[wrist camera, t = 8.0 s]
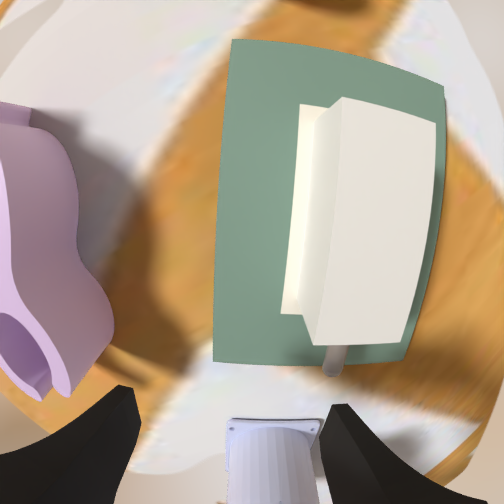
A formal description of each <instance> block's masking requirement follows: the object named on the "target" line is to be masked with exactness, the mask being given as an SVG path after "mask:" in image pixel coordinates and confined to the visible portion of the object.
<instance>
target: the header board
mask: <svg viewBox="0 0 504 504" xmlns="http://www.w3.org/2000/svg"><path fill="white" fill-rule="evenodd" d="M341 97H346V98H351V99H355V100H360V101H364V102H368V103H372V104H376V105H380V106H383V107H387V108H391V109H394V110H398V111H401V112H404V113H407V114H410V115H414V116H417V117H420V118H422V119H425V120H428V121H431V122H434V123H436V151H435V172H434V185H433V196H432V205H431V213H430V220H429V227H428V233H427V239H426V245H425V250H424V255H423V260H422V265H421V270H420V274H419V278H418V283H417V287H416V291H415V295H414V298H413V302H412V306H411V309H410V313H409V316H408V319H407V323H406V326H405V329H404V332H403V335H402V338H401V341H400V342H397V343H382V344H361V345H350V346H349V350H348V353H347V357H346V360H345V363H344V365H354V364H370V363H382V362H393V361H402V360H403V359H404V356H405V353H406V351H407V348H408V345H409V343H410V340H411V337H412V334H413V331H414V328H415V325H416V322H417V319H418V315H419V312H420V309H421V305H422V302H423V298H424V294H425V291H426V287H427V283H428V279H429V275H430V270H431V266H432V261H433V256H434V251H435V246H436V241H437V235H438V229H439V222H440V215H441V207H442V198H443V188H444V176H445V156H446V116H445V98H444V86H442V85H440V84H438V83H435V82H433V81H431V80H428V79H426V78H423V77H421V76H418V75H416V74H413V73H410V72H408V71H405V70H402V69H399V68H396V67H393V66H390V65H387V64H384V63H381V62H378V61H374V60H371V59H367V58H363V57H360V56H356V55H352V54H348V53H343V52H339V51H334V50H329V49H324V48H319V47H313V46H307V45H300V44H293V43H284V42H275V41H264V40H247V39H232V44H231V53H230V61H229V70H228V79H227V89H226V99H225V110H224V121H223V132H222V145H221V158H220V172H219V187H218V204H217V222H216V244H215V270H214V306H213V362H223V363H236V364H252V365H277V366H323V362H324V358H325V354H326V350H327V345H313V343H312V341H311V338H310V335H309V332H308V329H307V326H306V324H305V321H304V318H303V315H302V312H301V310H300V307H299V304H298V301H297V299H296V297H297V290H298V283H299V275H300V267H301V259H302V251H303V242H304V234H305V224H306V215H307V204H308V194H309V182H310V170H311V157H312V142H313V126H314V121H315V120H316V119H317V118H318V117H320V116H321V115H322V114H323V113H324V112H325V111H326V110H327V109H329V108H330V107H331V106H332V105H333V104H334V103H335V102H337V101H338V100H339V99H340V98H341Z"/></svg>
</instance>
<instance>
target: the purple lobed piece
mask: <svg viewBox="0 0 504 504" xmlns="http://www.w3.org/2000/svg"><path fill="white" fill-rule="evenodd" d="M31 113H32V110H31V108H29V107H25V106H20V105H15V104H10V103H5V102H0V366H1V368H2V369H3V371H4V372H5V373H6V374H7V376H8V377H9V378H10V379H11V380H12V381H13V382H14V383H15V384H16V385H17V386H18V387H19V388H20V389H21V390H22V391H24V392H25V393H26V394H28V395H29V396H30V397H32V398H34V399H35V400H37V401H39V402H41V401H42V400H43V399H44V397H45V396H46V395H47V394H48V392H49V391H50V390H51V388H52V387H54V388H55V389H56V390H57V391H58V392H59V393H60V394H61V395H63V396H64V397H70V395H71V394H72V392H73V391H74V390H75V388H76V387H77V386H78V384H79V383H80V381H81V380H82V379H83V377H84V376H85V375H86V373H87V372H88V371H89V369H90V368H91V367H92V365H93V364H94V363H95V361H96V360H97V359H98V357H99V356H100V355H101V353H102V352H103V351H104V350H105V348H106V347H107V346H108V344H109V343H110V342H111V340H112V338H113V334H114V316H113V312H112V308H111V305H110V302H109V300H108V298H107V296H106V294H105V292H104V290H103V289H102V287H101V286H100V284H99V283H98V281H97V280H96V279H95V278H94V277H93V276H92V274H91V273H90V272H89V271H88V270H87V269H86V267H85V266H84V264H83V263H82V261H81V259H80V256H79V253H78V249H77V240H76V239H77V229H78V220H79V198H78V188H77V182H76V177H75V173H74V170H73V166H72V164H71V161H70V158H69V156H68V154H67V152H66V150H65V149H64V147H63V145H62V144H61V143H60V142H59V140H58V139H57V138H56V137H55V136H54V135H52V134H51V133H49V132H48V131H46V130H43V129H39V128H33V127H30V126H29V121H30V117H31Z"/></svg>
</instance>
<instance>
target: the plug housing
mask: <svg viewBox="0 0 504 504" xmlns="http://www.w3.org/2000/svg"><path fill="white" fill-rule="evenodd" d="M435 151H436V123H434V122H431V121H428V120H425V119H422V118H420V117H417V116H414V115H410V114H407V113H404V112H401V111H398V110H394V109H391V108H387V107H383V106H380V105H376V104H372V103H368V102H364V101H360V100H355V99H351V98H346V97H341V98H340V99H339V100H338V101H337V102H335V103H334V104H333V105H332V106H331V107H330V108H329V109H327V110H326V111H325V112H324V113H323V114H322V115H321V116H320V117H318V118H317V119H316V120H315V121H314V126H313V142H312V157H311V170H310V182H309V194H308V204H307V215H306V224H305V234H304V242H303V251H302V259H301V267H300V275H299V283H298V290H297V297H296V299H297V301H298V304H299V307H300V310H301V312H302V315H303V318H304V321H305V324H306V326H307V329H308V332H309V335H310V338H311V341H312V343H313V345H327V350H326V354H325V358H324V362H323V366H322V369H323V372H324V374H325V375H327V376H329V377H336V376H338V375H339V374H340V373H341V372H342V370H343V367H344V363H345V360H346V357H347V353H348V350H349V346H350V345H361V344H382V343H397V342H400V341H401V338H402V335H403V332H404V329H405V326H406V323H407V319H408V316H409V313H410V309H411V306H412V302H413V298H414V295H415V291H416V287H417V283H418V278H419V274H420V270H421V265H422V260H423V255H424V250H425V245H426V239H427V233H428V227H429V220H430V213H431V205H432V196H433V185H434V172H435Z"/></svg>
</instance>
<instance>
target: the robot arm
mask: <svg viewBox="0 0 504 504" xmlns="http://www.w3.org/2000/svg"><path fill="white" fill-rule="evenodd" d="M140 427H141V419H140V415H139V411H138V407H137V403H136V399H135V394H134V390H133V388H130V387H126V386H122V385H117V386H116V387H115V388H114V389H112V390H111V391H110V392H109V393H107V394H106V395H105V396H104V397H103V398H101V399H100V400H99V401H98V402H97V403H95V404H94V405H93V406H92V407H90V408H89V409H88V410H87V411H85V412H84V413H83V414H81V415H80V416H79V417H77V418H76V419H75V420H73V421H72V422H70V423H69V424H67V425H66V426H64V427H63V428H61V429H60V430H58V431H56V432H55V433H53V434H51V435H50V436H48V437H46V438H44V439H42V440H40V441H38V442H36V443H33V444H31V445H29V446H26V447H24V448H21V449H18V450H16V451H12V452H9V453H5V454H1V455H0V504H113V503H114V500H115V496H116V492H117V489H118V486H119V484H120V481H121V479H122V476H123V474H124V472H125V469H126V467H127V464H128V462H129V460H130V457H131V455H132V452H133V450H134V448H135V445H136V442H137V438H138V435H139V431H140ZM232 427H233V428H232ZM319 427H320V422H319V421H318V420H299V421H260V420H238V419H230V420H228V421H227V424H226V471H227V472H229V473H228V474H229V475H228V489H227V504H320V502H319V497H318V491H317V486H316V480H315V475H314V470H313V464H312V459H311V454H310V450H311V447H312V445H313V442H314V440H315V437H316V435H317V432H318V430H319ZM319 441H320V451H321V459H322V463H323V467H324V471H325V475H326V479H327V483H328V486H329V490H330V494H331V498H332V502H333V504H488V503H487V501H484V500H480V499H476V498H472V497H468V496H465V495H462V494H459V493H456V492H454V491H452V490H449V489H447V488H445V487H443V486H441V485H439V484H437V483H435V482H433V481H432V480H430V479H428V478H426V477H425V476H423V475H422V474H420V473H419V472H417V471H416V470H414V469H413V468H412V467H410V466H409V465H407V464H406V463H405V462H404V461H402V460H401V459H400V458H399V457H398V456H397V455H395V454H394V453H393V452H392V451H391V450H390V449H389V448H388V447H387V446H386V445H385V444H384V443H383V442H382V441H381V440H380V439H379V438H378V437H377V436H376V435H375V434H374V433H373V432H372V431H371V430H370V429H369V427H368V426H367V425H366V424H365V423H364V422H363V421H362V420H361V418H360V417H359V416H358V415H357V414H356V413H355V412H354V410H353V409H352V408H351V407H350V406H349V405H348V404H333V405H332V406H331V409H330V411H329V414H328V417H327V419H326V422H325V424H324V427H323V429H322V431H321V434H320V436H319Z"/></svg>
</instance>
